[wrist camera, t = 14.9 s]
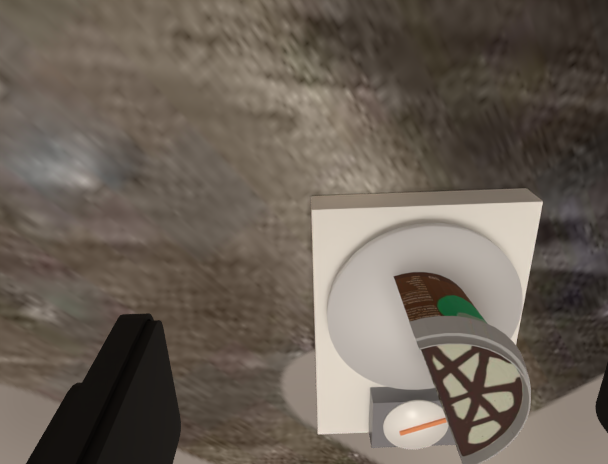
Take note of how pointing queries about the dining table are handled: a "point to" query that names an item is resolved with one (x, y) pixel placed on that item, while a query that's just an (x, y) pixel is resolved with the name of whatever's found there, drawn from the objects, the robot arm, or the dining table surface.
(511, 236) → the dial scale
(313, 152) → the dining table surface
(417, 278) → the food container
